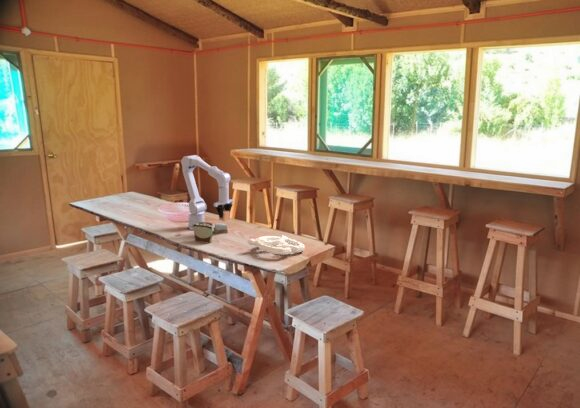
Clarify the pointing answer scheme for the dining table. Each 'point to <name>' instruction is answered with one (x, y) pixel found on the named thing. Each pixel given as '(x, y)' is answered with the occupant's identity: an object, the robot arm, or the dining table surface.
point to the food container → (203, 231)
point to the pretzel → (277, 244)
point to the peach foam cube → (225, 215)
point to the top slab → (220, 226)
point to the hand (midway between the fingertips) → (223, 216)
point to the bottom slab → (220, 231)
